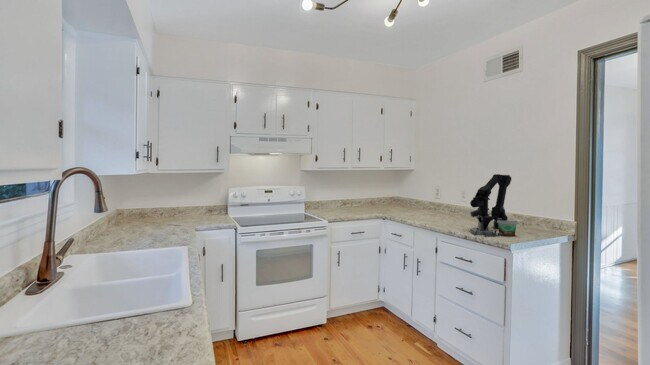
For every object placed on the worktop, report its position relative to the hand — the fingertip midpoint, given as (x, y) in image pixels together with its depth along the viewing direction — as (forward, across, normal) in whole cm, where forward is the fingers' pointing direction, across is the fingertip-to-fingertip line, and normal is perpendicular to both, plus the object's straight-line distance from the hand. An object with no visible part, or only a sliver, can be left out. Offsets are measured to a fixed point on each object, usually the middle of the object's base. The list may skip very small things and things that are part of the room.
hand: (483, 228), depth 220 cm
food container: (+2, +15, +11) cm, 18 cm away
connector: (+2, 0, 0) cm, 2 cm away
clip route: (+1, +14, -1) cm, 15 cm away
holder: (+2, +10, -4) cm, 12 cm away
